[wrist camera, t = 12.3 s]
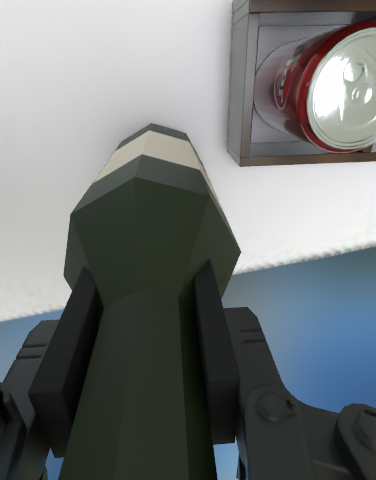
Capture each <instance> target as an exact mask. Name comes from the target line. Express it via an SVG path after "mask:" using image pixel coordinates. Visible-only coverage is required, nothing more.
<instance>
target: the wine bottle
mask: <svg viewBox="0 0 376 480" xmlns="http://www.w3.org/2000/svg"><path fill="white" fill-rule="evenodd" d="M240 253H241V251H240V248H239V246H238V244H237V242H236V239H235V237H234V235H233V233H232V230H231V228H230V226H229V223H228V221H227V219H226V217H225V214H224V212H223V210H222V208H221V205H220V203H219V201H218V198H217V196H216V194H215V192H214V189H213V187H212V185H211V183H210V180H209V178H208V176H207V174H206V171H205V169H204V167H203V164H202V162H201V161H200V159H199V157H198V155H197V153H196V151H195V149H194V148H193V146H192V144H191V142H190V140H189V138H188V136H187V134H186V133H183V132H179V131H176V130H173V129H169V128H166V127H162V126H159V125H155V124H152V123H151V124H150V125H148V126H146V127H145V128H143V129H142V130H140V131H138V132H137V133H135V134H134V135H132V136H130V137H129V138H127V139H125V140H124V141H122V142H121V143H120V145H119V146H118V148H117V149H116V150H115V152H114V153H113V155H112V156H111V158H110V159H109V160H108V162H107V163H106V165H105V166H104V168H103V169H102V170H101V172H100V173H99V175H98V176H97V177H96V179H95V180H94V182H93V183H92V185H91V186H90V187H89V189H88V190H87V192H86V193H85V195H84V196H83V197H82V199H81V200H80V202H79V203H78V204H77V206H76V207H75V209H74V210H73V212H72V213H71V215H70V223H69V232H68V241H67V249H66V258H65V267H64V278H65V279H66V281H67V283H68V284H69V286H70V288H71V290H72V291H73V288H74V286H75V284H76V282H77V279H78V277H79V275H80V273H81V270H82V268H83V266H84V268H85V270H86V271H87V273H88V274H89V276H90V277H91V279H92V280H93V282H94V283H95V285H96V290H97V310H98V333H97V337H96V340H95V344H94V348H93V352H92V355H91V359H90V363H89V367H88V370H87V374H86V378H85V381H84V385H83V389H82V393H81V396H80V400H79V404H78V408H77V411H76V415H75V419H74V423H73V426H72V430H71V434H70V438H69V441H68V445H67V449H66V452H65V456H64V460H63V464H62V467H61V471H60V475H59V479H58V480H217V472H216V465H215V457H214V449H213V441H212V434H211V426H210V418H209V412H208V406H207V398H206V391H205V383H204V375H203V367H202V359H201V352H200V344H199V336H198V328H197V318H196V303H195V287H194V276H195V275H196V274H197V272H198V271H199V270H200V269H201V268H202V267H203V265H204V264H205V263H206V262H207V261H208V260H209V259H210V258H211V262H212V266H213V270H214V274H215V278H216V282H217V286H218V290H219V294H220V298H221V299H222V296H223V294H224V292H225V289H226V287H227V285H228V282H229V280H230V277H231V275H232V273H233V270H234V268H235V265H236V263H237V261H238V258H239V256H240Z"/></svg>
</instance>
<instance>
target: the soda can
mask: <svg viewBox="0 0 376 480" xmlns="http://www.w3.org/2000/svg"><path fill="white" fill-rule="evenodd" d="M253 101H254V105H255V108H256V111H257V113H258V114H259V116H260V117H261V119H262V120H263V121H264V122H265V123H267V124H268V125H269V126H271V127H273V128H276V129H278V130H280V131H282V132H285V133H287V134H289V135H292V136H294V137H296V138H298V139H301V140H303V141H305V142H308V143H310V144H312V145H314V146H317V147H319V148H321V149H323V150H326V151H329V152H334V153H348V152H353V151H357V150H360V149H363V148H365V147H368V146H370V145H372V144H373V143H375V142H376V21H363V22H359V23H355V24H351V25H348V26H345V27H341V28H338V29H335V30H331V31H328V32H325V33H321V34H318V35H314V36H311V37H308V38H304V39H301V40H298V41H294V42H291V43H288V44H285V45H283V46H281V47H279V48H277V49H276V50H274V51H273V52H272V53H271V54H270V55H269V56H268V57H267V58H266V59H265V60H264V61H263V63H262V65H261V66H260V68H259V70H258V72H257V74H256V77H255V87H254V100H253Z"/></svg>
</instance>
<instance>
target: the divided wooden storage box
mask: <svg viewBox="0 0 376 480" xmlns="http://www.w3.org/2000/svg"><path fill="white" fill-rule="evenodd" d="M232 14H233V16H232V35H231V61H230V87H229V113H228V139H227V152H228V153H229V155H230V156H231V157H232V158H233V159H234V160H235V162H236V163H237V164H238V165H239V166H240V167H244V166H269V165H294V164H319V163H345V162H370V161H376V142H375V143H373V144H372V145H370V146H368V147H365V148H363V149H360V150H357V151H353V152H348V153H334V152H329V151H326V150H323V149H321V148H319V147H317V146H314V145H312V144H310V143H308V142H305V141H298V142H270V143H250V141H251V127H252V114H253V100H254V87H255V73H256V59H257V46H258V32H259V26H284V25H343V24H355V23H359V22H363V21H376V0H233V10H232Z"/></svg>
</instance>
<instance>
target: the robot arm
mask: <svg viewBox="0 0 376 480" xmlns="http://www.w3.org/2000/svg"><path fill="white" fill-rule="evenodd" d="M194 287H195V303H196V318H197V328H198V336H199V344H200V352H201V359H202V367H203V375H204V383H205V391H206V398H207V406H208V412H209V418H210V426H211V434H212V441H213V445H215V444H227V443H234V442H235V435H236V440H237V444H238V450H239V458H238V468H237V477H236V478H238V479H239V480H376V408H373V407H370V406H368V405H365V404H350V405H348V406H345V407H344V408H343V409H342V410H341V412H340V413H335V412H331V411H327V410H323V409H319V408H315V407H312V406H309V405H306V404H304V403H302V402H301V401H299V400H297V399H296V398H295V397H294V396H292V395H291V394H290V392H289V391H288V390H287V389H286V388H285V386H284V384H283V382H282V380H281V378H280V375H279V373H278V370H277V368H276V365H275V362H274V360H273V357H272V354H271V352H270V350H269V347H268V344H267V342H266V339H265V336H264V334H263V332H262V328H261V326H260V323H259V321H258V318H257V316H256V315H255V314H253V312H252V311H251V310H250V309H249V308H248V307H240V308H223V306H222V302H221V298H220V294H219V290H218V286H217V282H216V278H215V274H214V270H213V266H212V262H211V258H210V259H209V260H208V261H207V262H206V263H205V264H204V265H203V267H202V268H201V269H200V270H199V271H198V272H197V274H196V275H195V276H194ZM97 333H98V310H97V290H96V285H95V283H94V282H93V280H92V279H91V277H90V276H89V274H88V273H87V271H86V270H85V268H84V266H83V268H82V270H81V273H80V275H79V277H78V279H77V282H76V284H75V286H74V288H73V291H72V293H71V295H70V298H69V300H68V302H67V304H66V307H65V309H64V312H63V314H62V316H61V318H60V320H46V321H41V322H40V323H39V324H38V325H37V326H36V327H35V328H34V329H33V330H32V331H30V332H29V334H28V336H27V338H26V340H25V342H24V343H23V345H22V348H21V349H20V351H19V353H18V354H17V356H16V360H14V362H13V364H12V366H11V368H10V369H9V371H8V373H7V375H6V377H5V379H4V381H3V383H1V382H0V480H48V477H47V469H46V467H45V463H46V459H47V456H48V453H49V450H50V448H51V450H52V452H53V454H54V457H55V458H61V457H64V456H65V452H66V449H67V445H68V441H69V438H70V434H71V430H72V426H73V423H74V419H75V415H76V411H77V408H78V404H79V400H80V396H81V393H82V389H83V385H84V381H85V378H86V374H87V370H88V367H89V363H90V359H91V355H92V352H93V348H94V344H95V340H96V337H97Z"/></svg>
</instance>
